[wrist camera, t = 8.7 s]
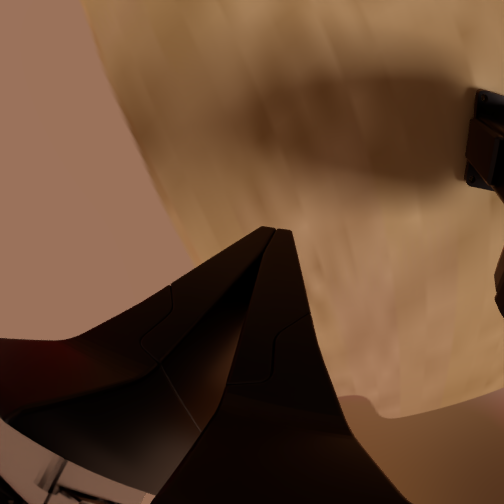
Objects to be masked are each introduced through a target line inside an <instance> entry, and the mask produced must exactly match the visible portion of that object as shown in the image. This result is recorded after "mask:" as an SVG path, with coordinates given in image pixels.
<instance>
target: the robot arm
mask: <svg viewBox="0 0 504 504" xmlns="http://www.w3.org/2000/svg"><path fill="white" fill-rule="evenodd" d="M483 94H484V95H485V97H486V98H485V100H484V101H482V99H481V96H482V95H483ZM465 156H466V158H467V165H466V170H465V175H464V179H465V181H466V183H467V184H468V185H469V186H471V187H476V188H481V189H486V190H491V191H495V192H496V194H497V195H498V196H499V198H500V199H501V200H502V202H503V203H504V96H502V95H499V94H496V93H493V92H490V91H486V90H483V89H480V90H478V91H477V92H476V95H475V107H474V117H473V118H472V119H471V120H470V126H469V133H468V141H467V147H466V153H465ZM471 176H474V178H473V180H469V178H470V177H471ZM494 278H495V287H496V292H497V293H496V296H495V302H496V304H497V306H498V309H499V311H500V313H501V315H502V316H503V318H504V247H503V250H502V253H501V256H500V258H499V261H498V264H497V267H496V271H495V274H494ZM146 493H150V494H152V495H156V496H155V498H154V499H153V500H152V502H151V503H150V504H412V503H411V502H409V501H408V500H407V499H406V498H405V497H404V496H403V495H402V494H401V493H400V491H399V490H398V489H397V488H396V487H395V485H394V484H393V483H392V482H391V481H390V479H389V478H388V477H387V476H386V475H385V474H384V472H383V471H382V470H381V469H380V467H379V466H378V465H377V464H376V463H375V462H374V460H373V459H372V458H371V456H370V455H369V454H368V453H367V452H366V450H365V449H364V448H363V447H362V445H361V444H360V443H359V442H358V440H357V439H356V438H355V436H354V434H353V433H352V431H351V429H350V427H349V425H348V423H347V421H346V419H345V416H344V414H343V412H342V409H341V406H340V403H339V401H338V398H337V395H336V392H335V390H334V387H333V384H332V382H331V379H330V376H329V374H328V371H327V368H326V366H325V363H324V360H323V357H322V354H321V351H320V348H319V345H318V341H317V337H316V333H315V329H314V325H313V320H312V316H311V312H310V307H309V302H308V298H307V293H306V289H305V285H304V280H303V276H302V271H301V267H300V263H299V259H298V254H297V250H296V246H295V242H294V238H293V234H292V231H291V230H286V229H277V230H276V229H275V228H272V227H265V226H261V227H259V228H258V229H256V230H255V231H253V232H251V233H250V234H248V235H247V236H245V237H243V238H242V239H240V240H239V241H237V242H235V243H234V244H232V245H231V246H229V247H228V248H226V249H224V250H223V251H221V252H220V253H218V254H216V255H215V256H213V257H212V258H210V259H209V260H207V261H205V262H204V263H202V264H201V265H199V266H198V267H196V268H194V269H193V270H192V271H190V272H188V273H187V274H185V275H184V276H182V277H181V278H179V279H177V280H176V281H174V282H173V283H172V284H171V286H170V285H168V286H166V287H165V288H163V289H162V290H160V291H159V292H157V293H155V294H154V295H152V296H151V297H149V298H147V299H146V300H144V301H143V302H141V303H139V304H137V305H135V306H133V307H132V308H130V309H128V310H126V311H124V312H123V313H121V314H119V315H117V316H115V317H113V318H111V319H110V320H107V321H106V322H104V323H102V324H100V325H98V326H96V327H94V328H92V329H91V330H89V331H87V332H85V333H83V334H81V335H79V336H76V337H73V338H70V339H66V340H56V341H53V340H49V341H48V340H25V339H7V338H0V504H141V502H142V500H143V498H144V496H145V494H146Z"/></svg>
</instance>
